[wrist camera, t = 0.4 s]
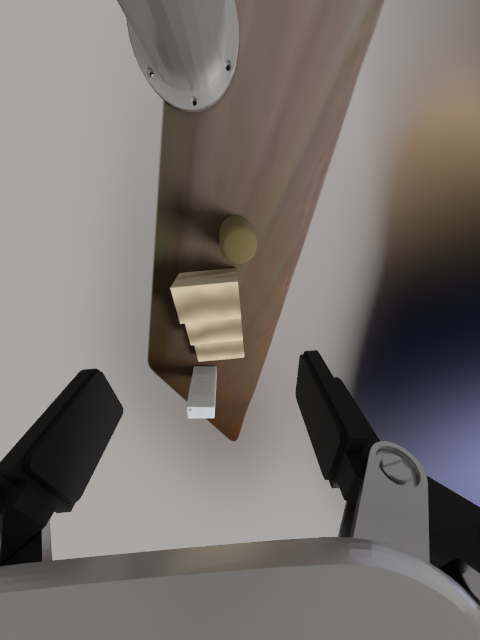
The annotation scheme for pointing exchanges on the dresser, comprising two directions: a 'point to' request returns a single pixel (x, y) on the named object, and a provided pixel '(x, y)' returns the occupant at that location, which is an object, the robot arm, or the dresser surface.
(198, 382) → the skincare box
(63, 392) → the robot arm
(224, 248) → the cork
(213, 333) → the step stand
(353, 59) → the dresser surface
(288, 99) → the dresser surface
